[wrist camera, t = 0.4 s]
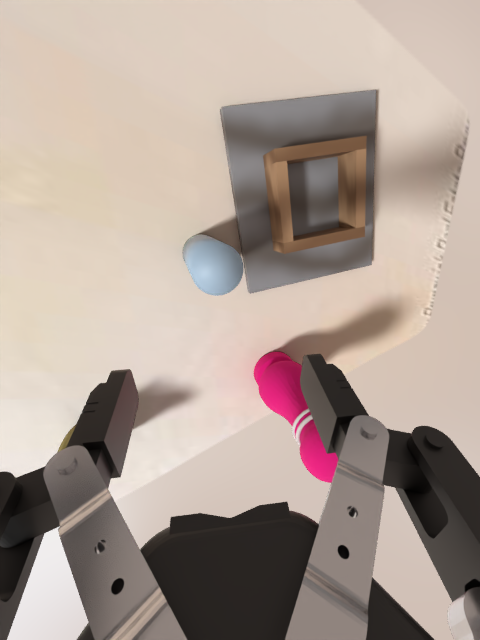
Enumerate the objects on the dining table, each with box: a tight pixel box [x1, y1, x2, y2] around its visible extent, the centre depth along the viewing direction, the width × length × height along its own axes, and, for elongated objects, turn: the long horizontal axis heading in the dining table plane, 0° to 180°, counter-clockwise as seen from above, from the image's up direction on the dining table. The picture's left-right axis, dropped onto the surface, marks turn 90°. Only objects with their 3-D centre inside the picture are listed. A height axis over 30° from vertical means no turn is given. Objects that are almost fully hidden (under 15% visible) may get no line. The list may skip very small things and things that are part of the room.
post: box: [183, 234, 243, 295], centre depth 28 cm, size 4×4×11 cm
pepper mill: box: [254, 352, 338, 483], centre depth 33 cm, size 7×7×20 cm
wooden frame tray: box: [220, 90, 376, 293], centre depth 32 cm, size 20×18×4 cm
